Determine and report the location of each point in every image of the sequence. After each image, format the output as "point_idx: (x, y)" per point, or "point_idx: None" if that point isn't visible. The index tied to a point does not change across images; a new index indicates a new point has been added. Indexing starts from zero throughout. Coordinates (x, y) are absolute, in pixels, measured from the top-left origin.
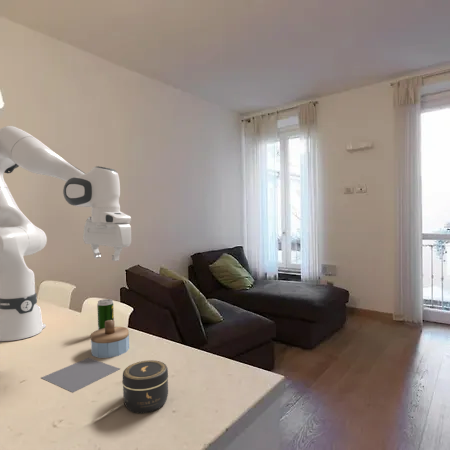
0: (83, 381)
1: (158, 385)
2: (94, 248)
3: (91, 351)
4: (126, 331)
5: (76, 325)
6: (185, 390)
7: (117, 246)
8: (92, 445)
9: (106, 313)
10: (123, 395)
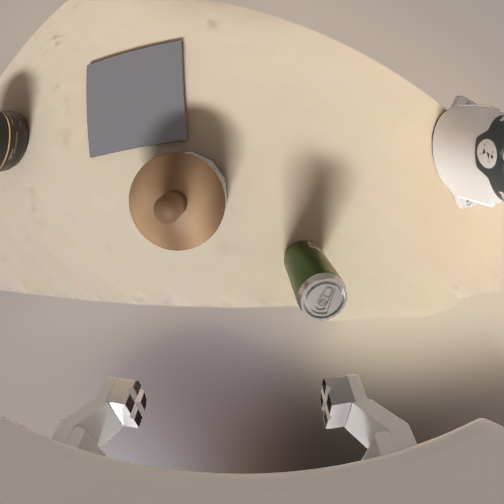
0: (101, 88)
1: None
2: (377, 432)
3: (209, 159)
4: (148, 234)
5: (413, 250)
6: (3, 193)
7: (21, 427)
8: (8, 65)
9: (296, 274)
10: (12, 112)
